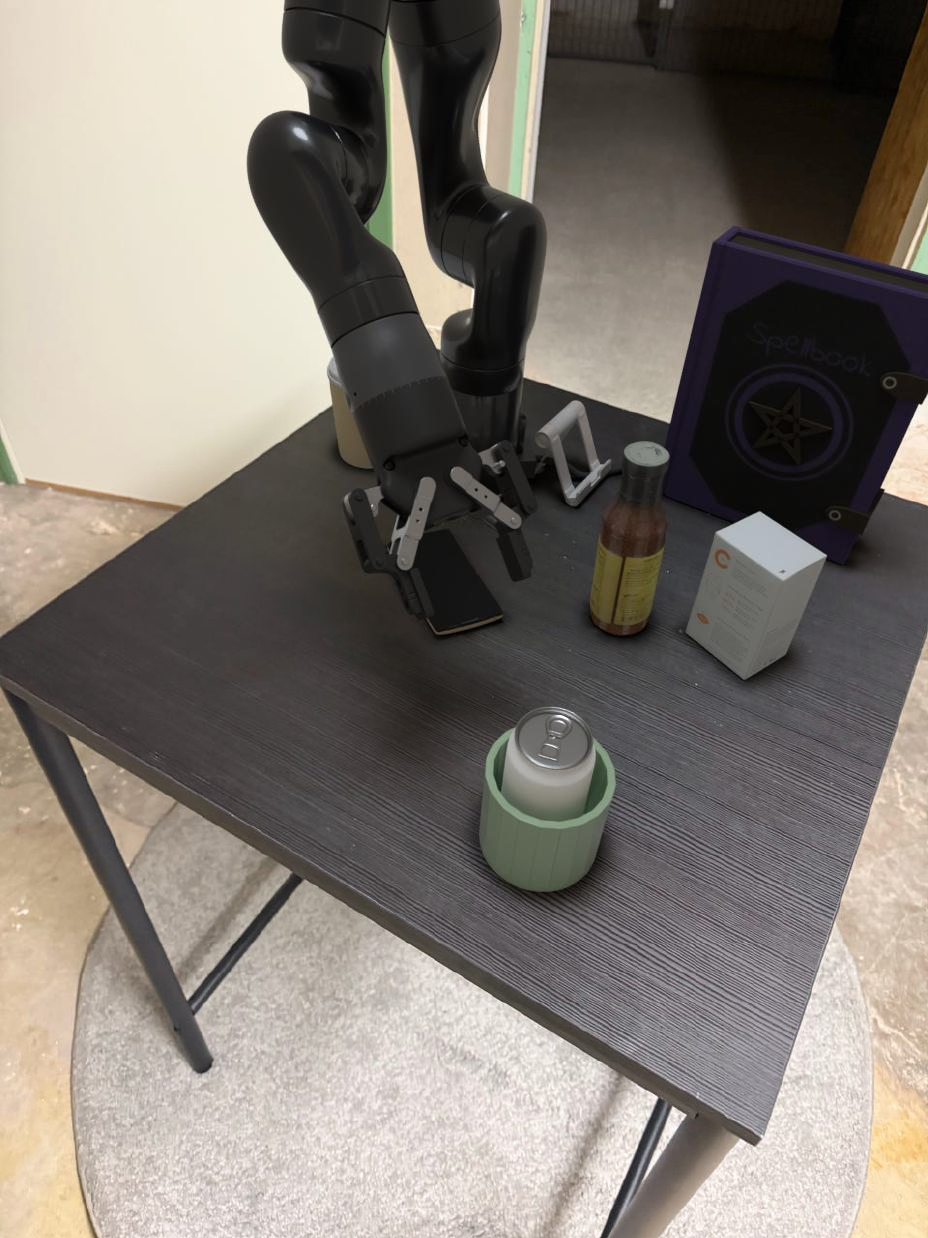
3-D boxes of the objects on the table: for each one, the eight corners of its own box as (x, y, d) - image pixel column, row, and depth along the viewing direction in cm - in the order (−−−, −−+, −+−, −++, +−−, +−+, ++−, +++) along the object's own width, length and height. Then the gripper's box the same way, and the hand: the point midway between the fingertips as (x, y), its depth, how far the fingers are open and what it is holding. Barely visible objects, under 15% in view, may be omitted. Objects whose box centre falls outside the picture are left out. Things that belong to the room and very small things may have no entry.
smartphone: (448, 526, 97) (505, 613, 87) (447, 534, 98) (504, 621, 88) (385, 541, 94) (437, 632, 85) (385, 549, 95) (437, 640, 86)
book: (652, 494, 105) (711, 241, 84) (673, 470, 109) (734, 223, 88) (845, 569, 96) (965, 309, 75) (861, 540, 100) (979, 285, 79)
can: (585, 809, 71) (608, 716, 63) (566, 876, 67) (587, 785, 59) (510, 785, 73) (523, 691, 64) (486, 850, 68) (496, 758, 60)
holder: (551, 770, 75) (563, 703, 69) (621, 856, 69) (642, 791, 63) (456, 819, 71) (461, 752, 65) (523, 914, 65) (535, 850, 59)
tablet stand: (577, 509, 102) (587, 448, 96) (520, 486, 105) (526, 425, 99) (610, 475, 108) (621, 415, 102) (554, 453, 110) (562, 395, 105)
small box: (786, 655, 86) (830, 555, 77) (743, 682, 83) (784, 581, 74) (725, 608, 91) (759, 508, 82) (682, 632, 88) (713, 531, 79)
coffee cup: (412, 434, 112) (412, 347, 104) (401, 475, 106) (400, 386, 97) (341, 428, 113) (335, 341, 104) (325, 468, 106) (318, 379, 98)
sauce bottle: (655, 608, 90) (698, 445, 77) (637, 647, 86) (680, 482, 72) (595, 589, 92) (627, 426, 78) (575, 625, 88) (605, 461, 74)
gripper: (323, 401, 58) (410, 629, 59) (501, 352, 63) (577, 560, 65) (297, 432, 64) (376, 635, 66) (460, 385, 70) (529, 573, 71)
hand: (475, 598), depth 65 cm, fingers open, 8 cm apart
